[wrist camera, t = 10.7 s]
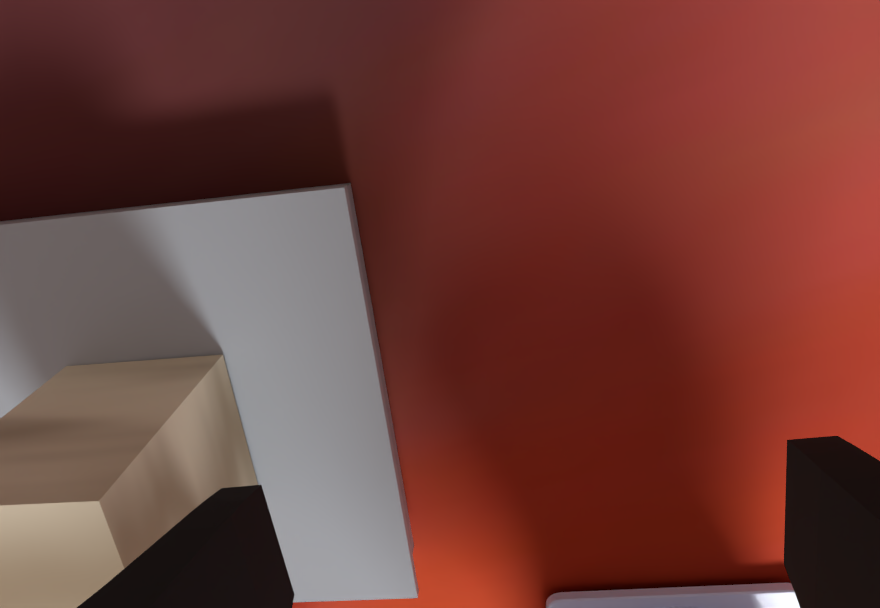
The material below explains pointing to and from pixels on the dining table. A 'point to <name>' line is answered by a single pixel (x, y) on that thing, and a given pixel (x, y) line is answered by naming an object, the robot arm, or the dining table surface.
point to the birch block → (110, 470)
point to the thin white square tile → (236, 354)
